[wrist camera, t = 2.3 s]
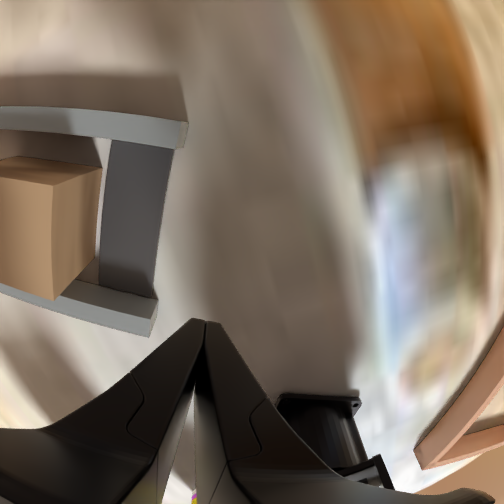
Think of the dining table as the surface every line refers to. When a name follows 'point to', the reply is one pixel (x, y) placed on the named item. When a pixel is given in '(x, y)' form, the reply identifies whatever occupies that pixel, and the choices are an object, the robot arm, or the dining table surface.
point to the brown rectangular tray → (467, 417)
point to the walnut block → (46, 223)
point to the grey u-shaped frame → (114, 211)
